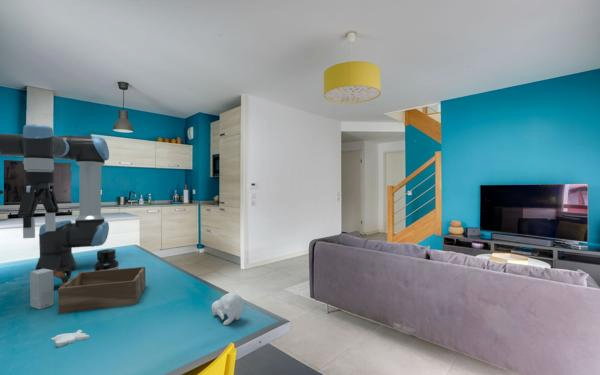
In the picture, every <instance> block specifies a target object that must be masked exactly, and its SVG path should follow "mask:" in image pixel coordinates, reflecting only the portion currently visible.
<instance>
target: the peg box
mask: <svg viewBox="0 0 600 375" xmlns="http://www.w3.org/2000/svg"><path fill="white" fill-rule="evenodd" d="M146 283H147V282H146V266H138V267H128V268H127V267H125V268H119V269H112V270H101V271H94V270H91V271H80V272H79V273H78V274H75V275H74V276H73V277H72V278H70V279H68V282H66V283H65V284H64V285H62V286H61V287H60V286H59V288H57V304H58V305H57V306H58V308H57V310H58V311H57V312H58V315H59V314H60V315H61V314H67V313H74V312H75V313H76V312H82V311H84V312H85V311H93V310H100V309H109V308H117V307H124V306H125V307H126V306H133V305H137V303H138V301H139V300H140V298H141V296H142V294H143V292H144V291H145V288H146V286H147V284H146Z"/></svg>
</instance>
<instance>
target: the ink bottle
mask: <svg viewBox="0 0 600 375" xmlns="http://www.w3.org/2000/svg"><path fill="white" fill-rule="evenodd" d="M116 251H117V250H116V249H114V248H107V249H100V250H98V251H96V260H97V262H95V263H94V265H93V266H94V267H93V271H101V270H112V269H120V267H119V266H120V264H119V261H118V260H117V256H116Z"/></svg>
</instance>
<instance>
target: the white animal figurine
mask: <svg viewBox="0 0 600 375" xmlns="http://www.w3.org/2000/svg"><path fill="white" fill-rule="evenodd" d="M244 306H245V302H244V300H243V298H242V296H241V295H239V294H238V293H235V292H229V293H227V294H226V293H225V294H224V295H222V296H221V297H220V298H219V299H218V300H215V301H214V302H213V303H212V305H211V311H212V312H211V313H212V314H213V315H214V317H215V316H218V317H220V319H221V320H224V319H225V315H226V316H227V317H228V318H227V319H225V320H224V322H223V323H222V325H223V326H227V325H230V324H231V323H232V322H233V321H234V320H235V321H238V320H240V319H241V316H242V313H243V311H244Z"/></svg>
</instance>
